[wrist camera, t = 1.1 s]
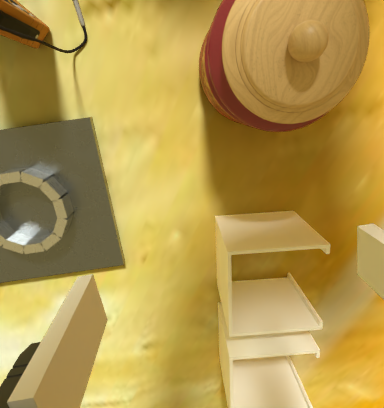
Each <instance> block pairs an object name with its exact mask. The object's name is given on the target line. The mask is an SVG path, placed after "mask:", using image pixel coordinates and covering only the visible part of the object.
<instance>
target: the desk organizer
mask: <svg viewBox="0 0 384 408" xmlns="http://www.w3.org/2000/svg"><path fill="white" fill-rule="evenodd" d="M215 234H216V266H217V286H218V291H219V295H220V299H221V302H218V329H219V359H220V365H221V371H222V377H223V382H224V388H225V394H226V400H227V406H228V408H313V407H312V404H311V402H310V400H309V398H308V396H307V393H306V391H305V389H304V387H303V384H302V382H301V380H300V378H299V376H298V373H297V371H296V369H295V367H294V365H293V362H292V360H291V358H290V356H289V355H299V354H311V353H314V354H315V356H316V358H320V349H319V347H318V346H317V344H316V342H315V340H314V339H313V337H312V335H311V334H310V332H309V330H321V329H322V327H323V321H322V319H321V318H320V316H319V315H318V313H317V312H316V310H315V309H314V307H313V306H312V304H311V303H310V301H309V300H308V299H307V297H306V296H305V294H304V293H303V291H302V290H301V288H300V287H299V285H298V284H297V282H296V281H295V279H294V278H293V276H292V275H291V273H287V277H283V278H270V279H257V280H243V281H232V271H231V255H237V254H250V253H264V252H278V251H292V250H306V249H321V250H322V251H323V252H324V253H325V254H330V246H331V244H330V243H329V242H327V241H326V240H325V239H324V238H323V237H322V236H321V235H320V234H319V233H318V232H316V231H315V230H314V229H313V228H312V227H311V226H310V225H309V224H308V223H307V222H305V221H304V220H303V219H302V218H301V217H300V216H299V215H298V214H297V213H296V212H294V211H279V212H265V213H250V214H235V215H220V216H215Z"/></svg>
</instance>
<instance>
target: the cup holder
mask: <svg viewBox="0 0 384 408" xmlns="http://www.w3.org/2000/svg"><path fill="white" fill-rule="evenodd" d="M124 263H125V259H124V255H123V251H122V246H121V242H120V238H119V233H118V229H117V224H116V220H115V216H114V211H113V207H112V203H111V198H110V194H109V189H108V185H107V181H106V176H105V172H104V168H103V163H102V159H101V155H100V150H99V146H98V141H97V137H96V133H95V128H94V124H93V120H92V117H89V118H82V119H75V120H68V121H61V122H54V123H46V124H39V125H32V126H25V127H18V128H11V129H4V130H0V283H2V282H9V281H16V280H22V279H29V278H36V277H43V276H50V275H57V274H64V273H71V272H78V271H85V270H92V269H99V268H105V267H112V266H119V265H124Z"/></svg>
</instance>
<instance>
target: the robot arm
mask: <svg viewBox="0 0 384 408" xmlns="http://www.w3.org/2000/svg"><path fill="white" fill-rule="evenodd" d="M357 275H358V276H359V277H360V278H361V279H362V280H363V281H365V282H366V283H367V284H368V285H369V286H370V287H371V288H372V289H373V290H374V291H375V292H376V293H377V294H378V295H379V296H380V297H381V298H382V299H384V230H383V229H381V228H380V227H378V226H376V225H375V224H373V223H372V224H366V225H361V226H357ZM106 323H107V317H106V314H105V310H104V307H103V304H102V301H101V298H100V295H99V292H98V289H97V285H96V282H95V279H94V276H93V274H91V275H85V276H79V277H77V279H76V280H75V282H74V284H73V286H72V288H71V289H70V291H69V293H68V295H67V296H66V298H65V300H64V302H63V304H62V305H61V307H60V309H59V311H58V312H57V314H56V316H55V318H54V319H53V321H52V323H51V325H50V327H49V328H48V330H47V332H46V334H45V335H44V337H43V339H42V341H41V342H38V343H33V344H31V345H30V346H29V347H28V348H26V349H25V350H24V351H23V352H22V353H21V354H20V356H19V357H18V359H17V360H16V362H15V364H14V365H13V369H11V370H10V372H9V373H8V375H7V379H5V380H4V381H3V383H2V385H1V386H0V408H80V406H81V402H82V399H83V396H84V393H85V390H86V387H87V383H88V380H89V377H90V374H91V371H92V367H93V364H94V361H95V358H96V355H97V352H98V348H99V345H100V342H101V339H102V336H103V333H104V329H105V326H106Z"/></svg>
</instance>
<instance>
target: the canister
mask: <svg viewBox="0 0 384 408" xmlns="http://www.w3.org/2000/svg"><path fill="white" fill-rule="evenodd" d="M368 45H369V20H368V14H367V10H366V7H365V4H364V1H363V0H223V1H222V3H221V4H220V6H219V8H218V10H217V12H216V15H215V17H214V20H213V22H212V24H211V27H210V29H209V31H208V33H207V35H206V37H205V39H204V42H203V45H202V48H201V52H200V58H199V75H200V81H201V85H202V88H203V90H204V93H205V95H206V97H207V99H208V100H209V102H210V103H211V104H212V106H213V107H214V108H215V109H216V110H217V111H218V112H219V113H220V114H222V115H223V116H225V117H226V118H228V119H230V120H232V121H235V122H238V123H241V124H244V125H247V126H250V127H254V128H257V129H260V130H265V131H271V132H285V131H292V130H296V129H300V128H303V127H305V126H308V125H310V124H312V123H314V122H315V121H317V120H319V119H320V118H322V117H323V116H324V115H326V114H327V113H328V112H329V111H330V110H332V109H333V108H334V107H335V106H336V105H337V104H338V103H339V102H340V101H341V100H342V99H343V98H344V97H345V96H346V95H347V94H348V93H349V91H350V90H351V89H352V87H353V86H354V84H355V82H356V81H357V79H358V77H359V75H360V73H361V71H362V68H363V66H364V63H365V60H366V56H367V51H368Z"/></svg>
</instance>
